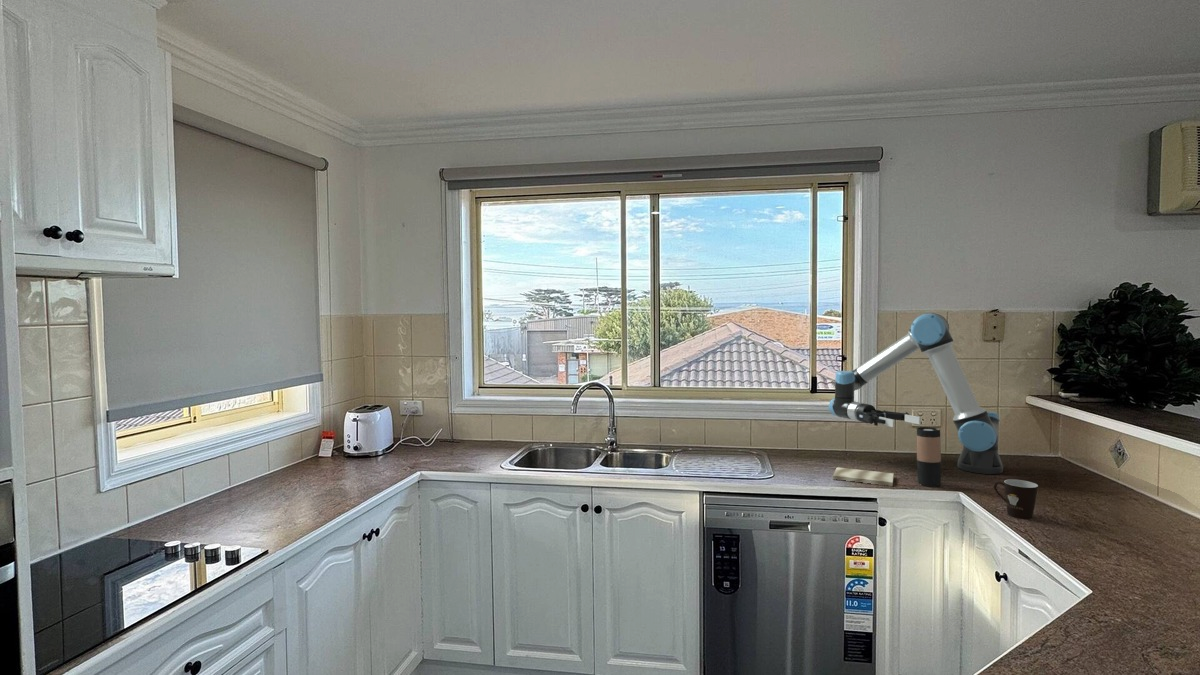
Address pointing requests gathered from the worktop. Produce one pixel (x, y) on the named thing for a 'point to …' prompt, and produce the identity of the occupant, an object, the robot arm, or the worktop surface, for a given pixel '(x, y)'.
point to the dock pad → (864, 476)
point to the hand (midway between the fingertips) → (907, 422)
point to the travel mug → (928, 456)
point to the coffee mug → (1019, 498)
